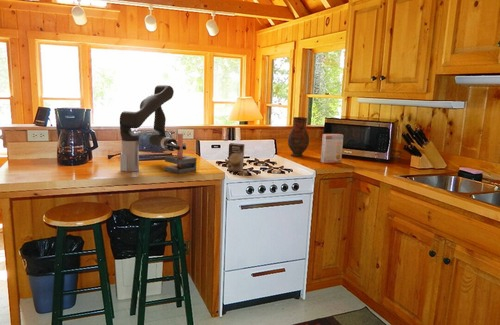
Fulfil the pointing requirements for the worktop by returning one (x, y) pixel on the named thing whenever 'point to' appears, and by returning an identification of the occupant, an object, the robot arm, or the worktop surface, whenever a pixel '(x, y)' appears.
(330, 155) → the cracker box
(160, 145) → the robot arm
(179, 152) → the pin
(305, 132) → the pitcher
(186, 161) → the clevis
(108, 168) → the worktop surface
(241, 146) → the coffee box
